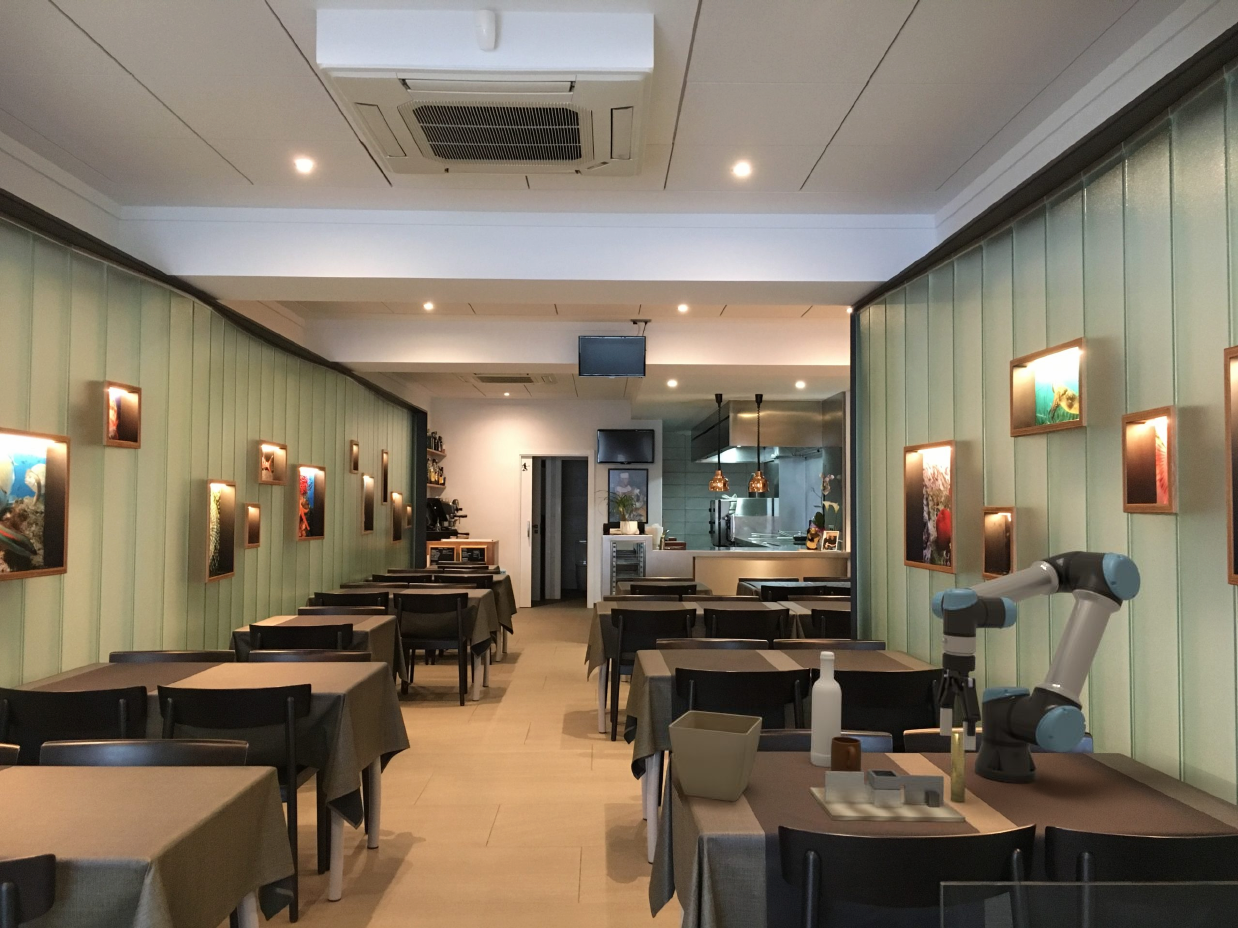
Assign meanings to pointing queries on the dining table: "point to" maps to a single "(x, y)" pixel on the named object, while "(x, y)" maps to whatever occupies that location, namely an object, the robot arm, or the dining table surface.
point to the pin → (957, 768)
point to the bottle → (825, 712)
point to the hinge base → (864, 791)
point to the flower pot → (714, 753)
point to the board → (888, 811)
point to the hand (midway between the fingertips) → (957, 742)
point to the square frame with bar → (908, 784)
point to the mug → (846, 754)
